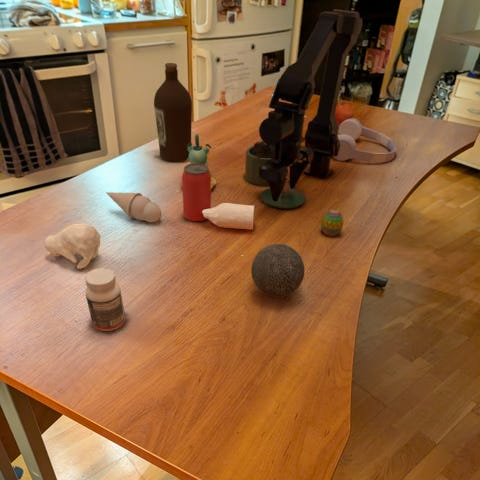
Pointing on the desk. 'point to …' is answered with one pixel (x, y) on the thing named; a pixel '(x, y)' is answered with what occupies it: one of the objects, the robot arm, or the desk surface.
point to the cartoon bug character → (199, 155)
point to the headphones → (353, 131)
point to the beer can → (196, 191)
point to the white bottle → (231, 215)
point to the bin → (255, 167)
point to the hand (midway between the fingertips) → (283, 194)
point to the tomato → (343, 112)
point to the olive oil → (173, 117)
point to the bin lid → (284, 197)
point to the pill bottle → (104, 299)
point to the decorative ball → (277, 270)
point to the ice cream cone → (137, 206)
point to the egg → (332, 222)
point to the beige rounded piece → (75, 243)
